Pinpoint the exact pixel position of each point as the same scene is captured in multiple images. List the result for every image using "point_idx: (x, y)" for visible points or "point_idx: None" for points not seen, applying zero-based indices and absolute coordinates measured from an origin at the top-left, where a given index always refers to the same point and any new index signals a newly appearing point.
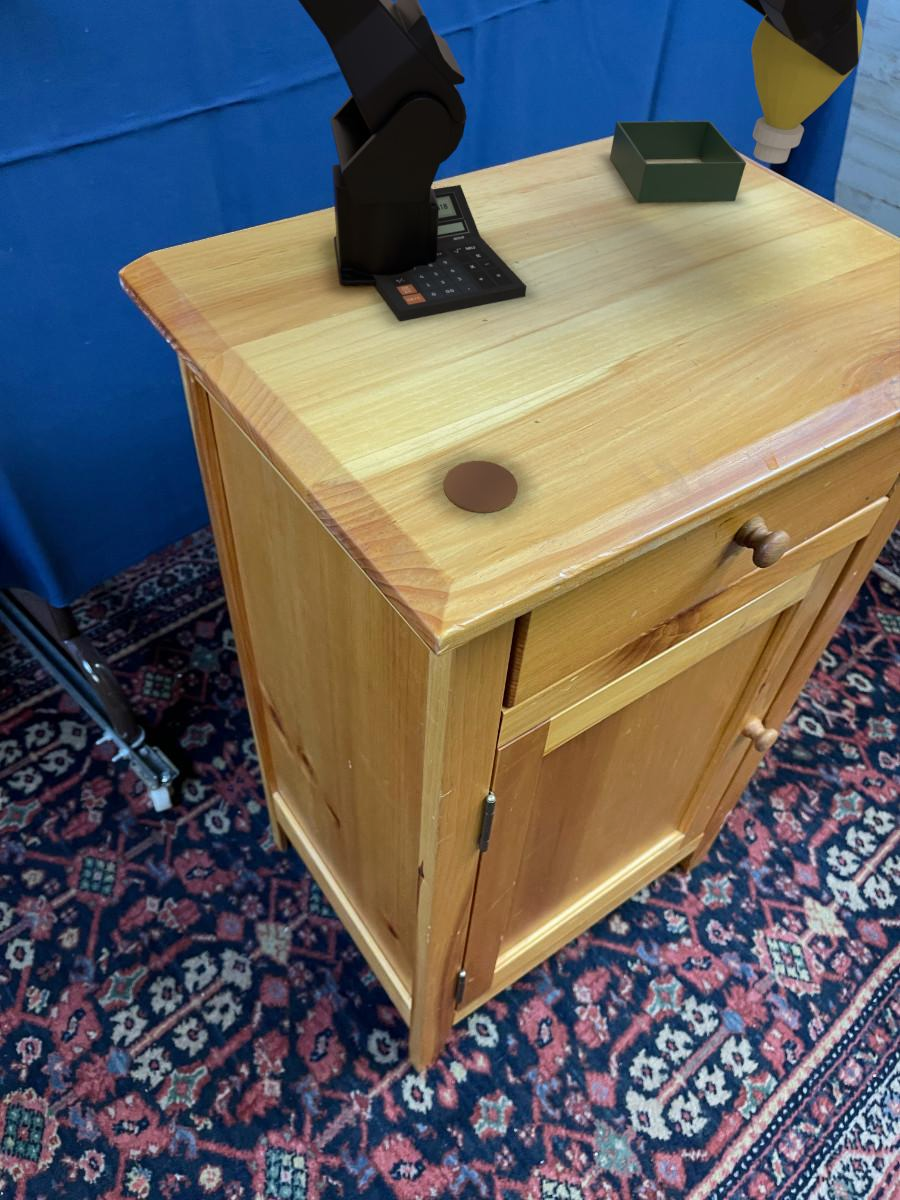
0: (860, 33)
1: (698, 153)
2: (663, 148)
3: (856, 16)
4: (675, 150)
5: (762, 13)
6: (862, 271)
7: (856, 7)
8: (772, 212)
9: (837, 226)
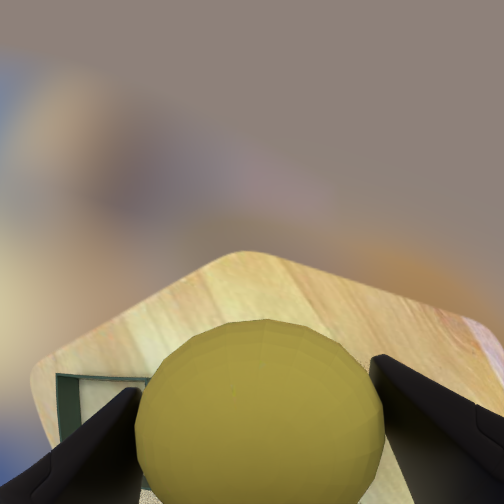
0: (329, 342)
1: (76, 380)
2: (74, 418)
3: (478, 405)
4: (75, 405)
5: (138, 501)
6: (308, 292)
7: (497, 415)
8: None
9: (217, 288)
